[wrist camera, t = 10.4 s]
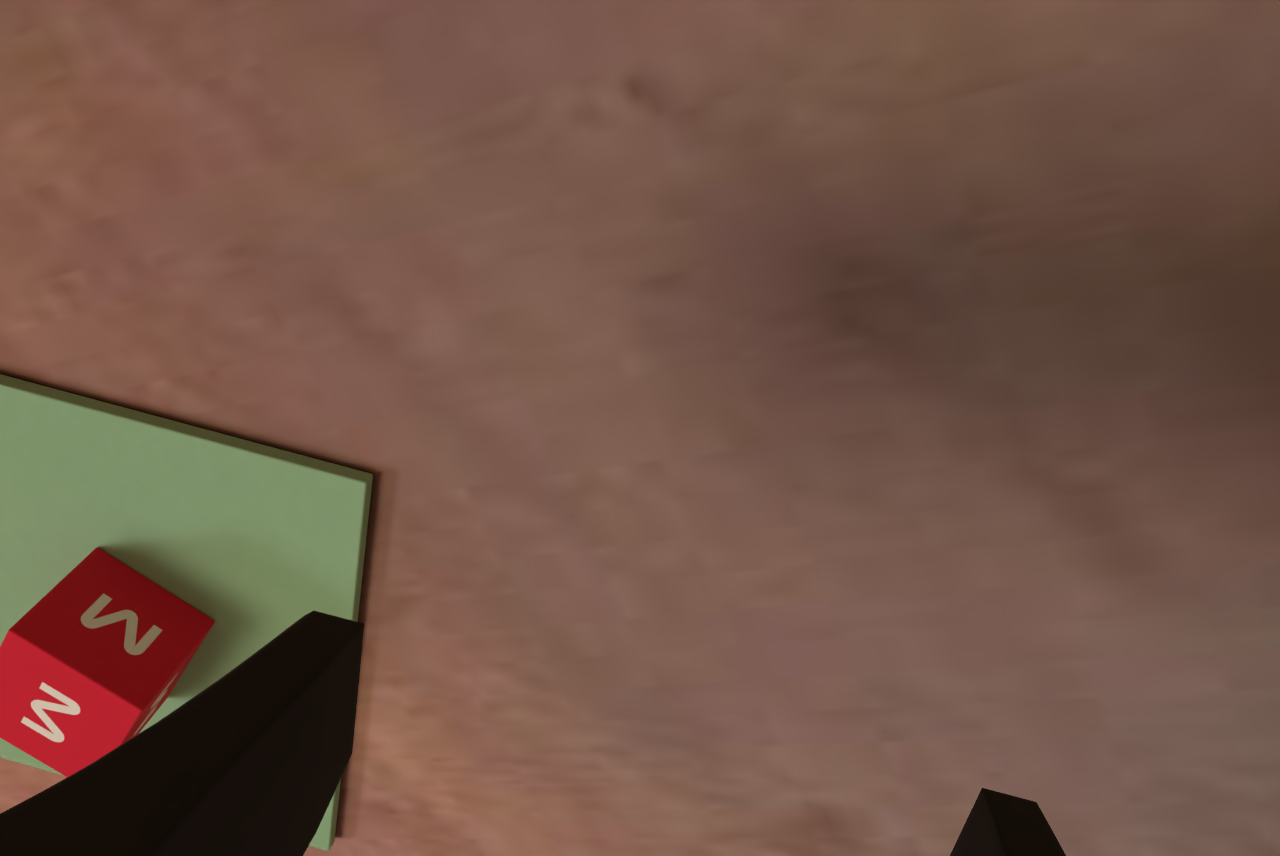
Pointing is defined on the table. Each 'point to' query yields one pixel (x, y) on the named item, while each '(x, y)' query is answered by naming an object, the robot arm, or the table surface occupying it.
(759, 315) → the table surface
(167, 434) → the green square board
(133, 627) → the red letter cube
